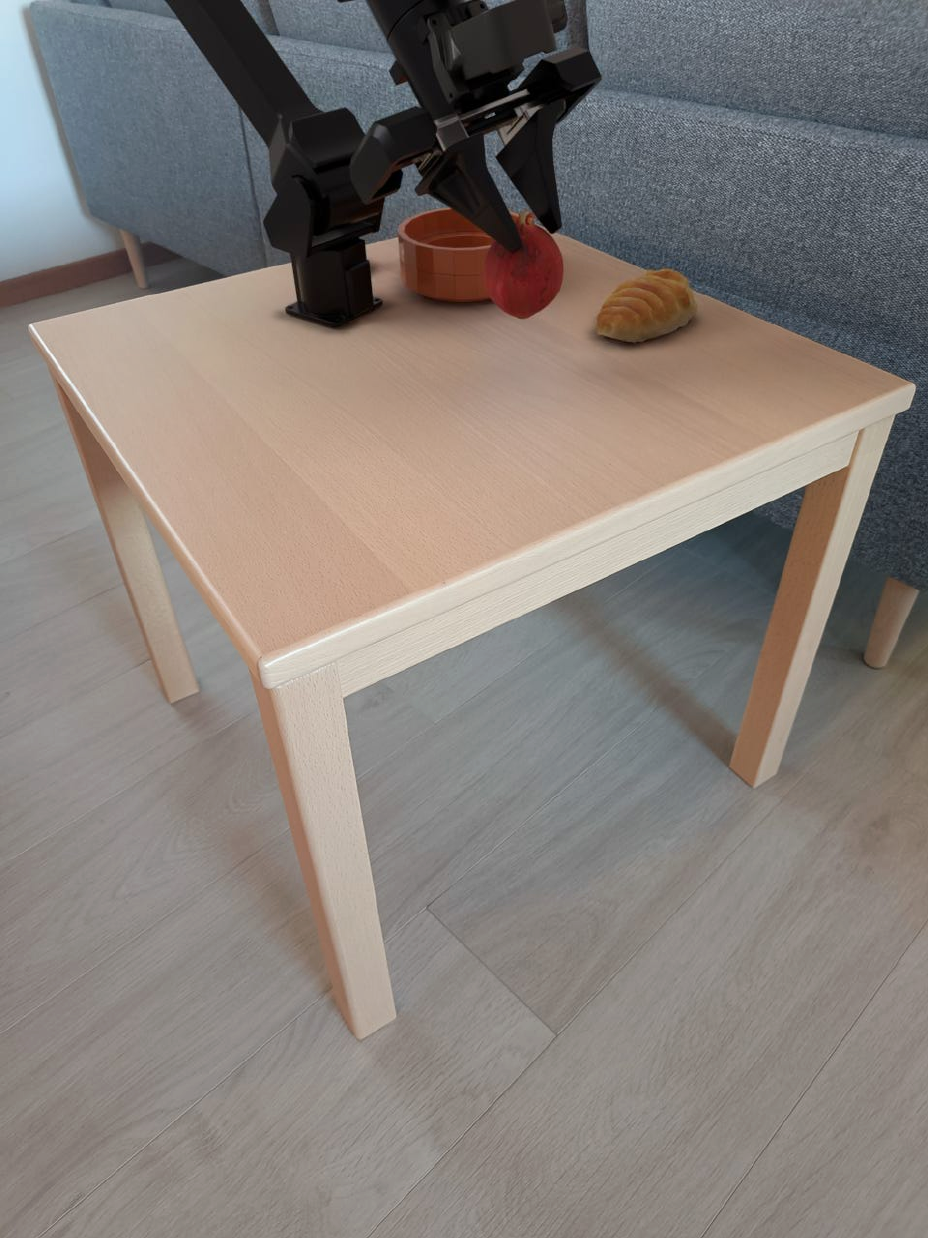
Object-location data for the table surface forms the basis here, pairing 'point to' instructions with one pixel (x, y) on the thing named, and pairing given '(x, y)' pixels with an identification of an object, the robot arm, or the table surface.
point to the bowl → (444, 256)
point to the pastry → (647, 307)
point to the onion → (524, 271)
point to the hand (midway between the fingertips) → (537, 240)
